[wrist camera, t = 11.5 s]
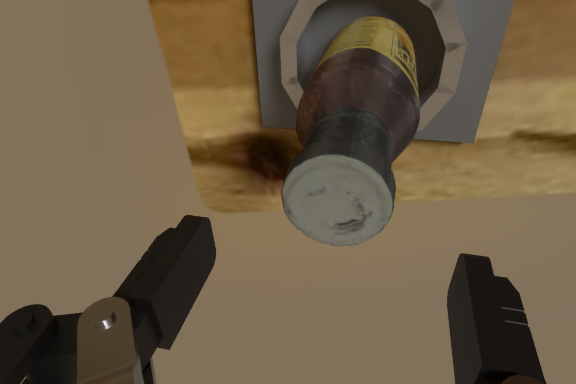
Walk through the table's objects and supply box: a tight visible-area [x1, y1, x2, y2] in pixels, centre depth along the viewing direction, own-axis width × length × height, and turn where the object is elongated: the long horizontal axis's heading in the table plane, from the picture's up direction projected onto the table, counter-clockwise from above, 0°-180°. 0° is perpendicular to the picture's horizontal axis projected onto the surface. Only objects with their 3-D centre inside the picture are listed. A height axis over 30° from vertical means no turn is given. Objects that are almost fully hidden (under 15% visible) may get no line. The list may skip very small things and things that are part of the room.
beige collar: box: [280, 0, 467, 131], centre depth 28 cm, size 12×12×3 cm
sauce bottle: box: [281, 15, 420, 246], centre depth 22 cm, size 7×6×20 cm
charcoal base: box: [252, 0, 514, 143], centre depth 30 cm, size 18×14×1 cm
